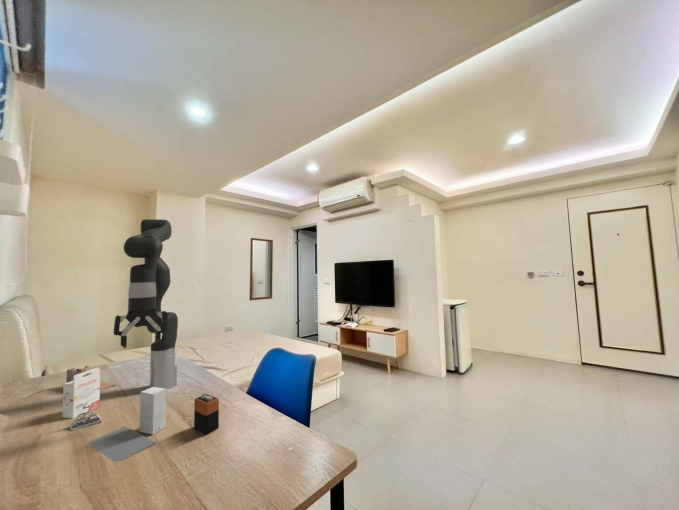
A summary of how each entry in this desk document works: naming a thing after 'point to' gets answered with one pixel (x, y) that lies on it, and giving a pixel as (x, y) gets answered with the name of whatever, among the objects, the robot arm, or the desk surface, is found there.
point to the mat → (121, 444)
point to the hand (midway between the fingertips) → (141, 344)
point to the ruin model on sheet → (72, 372)
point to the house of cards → (88, 421)
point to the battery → (206, 413)
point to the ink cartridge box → (81, 393)
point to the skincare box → (152, 410)
